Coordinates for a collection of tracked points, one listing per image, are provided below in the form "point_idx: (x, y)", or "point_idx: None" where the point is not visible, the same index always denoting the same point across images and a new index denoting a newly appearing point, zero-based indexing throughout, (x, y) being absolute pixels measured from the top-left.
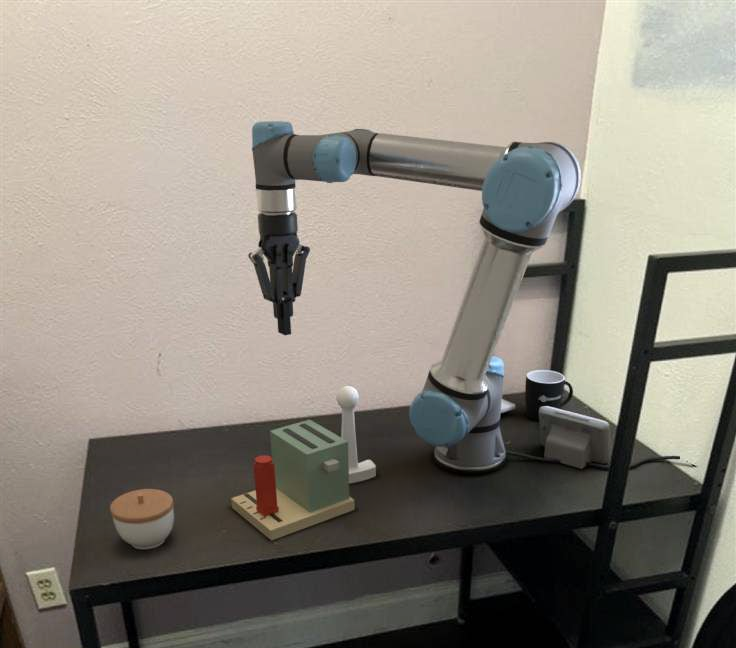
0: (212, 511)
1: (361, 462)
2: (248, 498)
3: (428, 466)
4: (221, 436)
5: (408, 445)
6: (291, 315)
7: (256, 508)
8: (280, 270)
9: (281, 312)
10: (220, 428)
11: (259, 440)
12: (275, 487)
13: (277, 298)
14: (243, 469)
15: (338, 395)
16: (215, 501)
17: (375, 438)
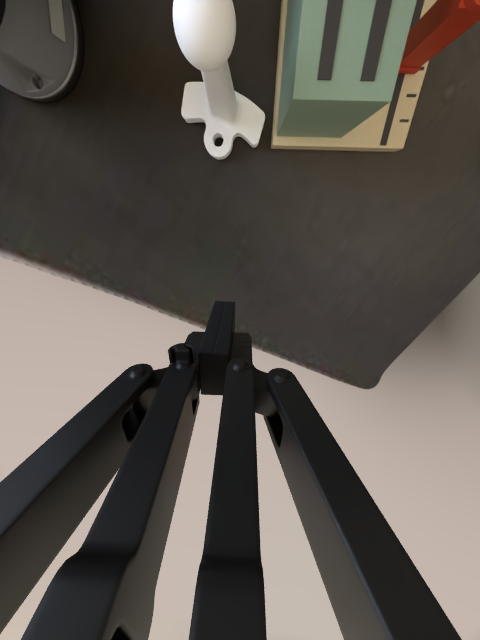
0: (414, 162)
1: (197, 116)
2: (391, 127)
3: (100, 56)
4: (278, 330)
5: (98, 155)
6: (196, 333)
7: (417, 71)
8: (208, 534)
9: (233, 343)
10: (267, 346)
11: (253, 298)
12: (428, 10)
13: (253, 373)
14: (312, 243)
15: (232, 20)
16: (392, 186)
17: (131, 210)
